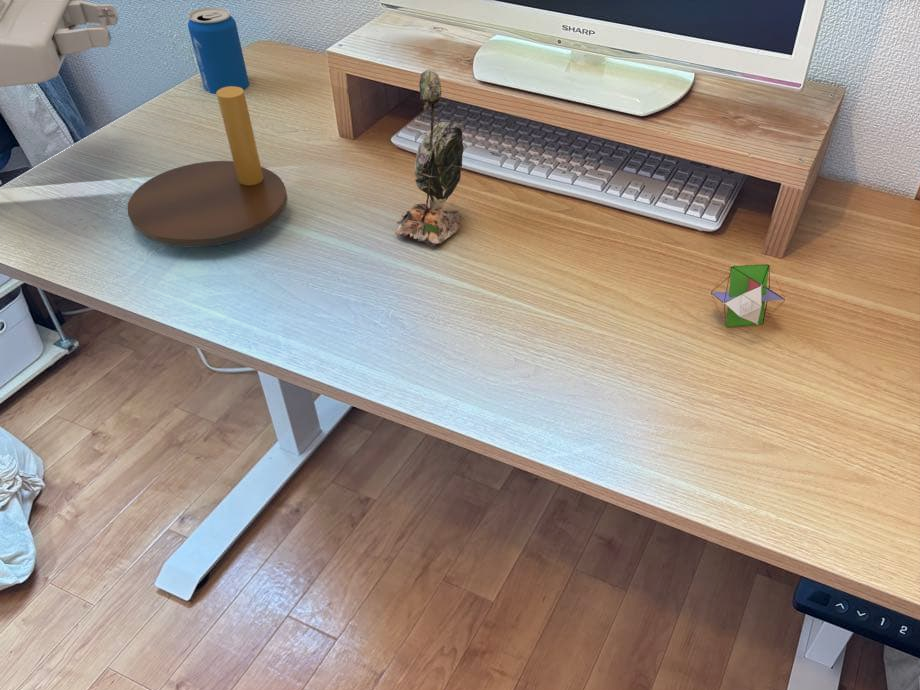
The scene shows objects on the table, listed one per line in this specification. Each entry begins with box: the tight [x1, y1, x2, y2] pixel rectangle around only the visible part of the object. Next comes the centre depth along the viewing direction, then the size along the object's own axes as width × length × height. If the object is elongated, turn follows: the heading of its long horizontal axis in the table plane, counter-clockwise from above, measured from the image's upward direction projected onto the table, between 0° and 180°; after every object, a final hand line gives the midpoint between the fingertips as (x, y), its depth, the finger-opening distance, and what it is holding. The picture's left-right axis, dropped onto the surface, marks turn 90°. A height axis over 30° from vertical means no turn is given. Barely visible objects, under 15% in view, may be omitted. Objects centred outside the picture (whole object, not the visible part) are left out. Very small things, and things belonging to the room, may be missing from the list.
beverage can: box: [187, 6, 250, 95], centre depth 116 cm, size 6×6×12 cm
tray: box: [126, 86, 288, 248], centre depth 91 cm, size 18×18×12 cm
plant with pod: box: [394, 69, 465, 247], centre depth 91 cm, size 8×11×20 cm
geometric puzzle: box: [709, 263, 787, 328], centre depth 84 cm, size 7×7×8 cm
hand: (112, 24), depth 87 cm, fingers open, 5 cm apart
